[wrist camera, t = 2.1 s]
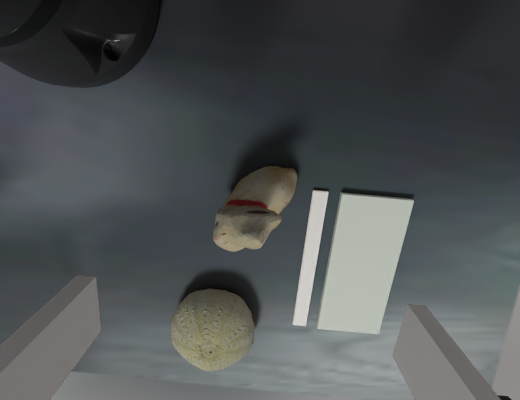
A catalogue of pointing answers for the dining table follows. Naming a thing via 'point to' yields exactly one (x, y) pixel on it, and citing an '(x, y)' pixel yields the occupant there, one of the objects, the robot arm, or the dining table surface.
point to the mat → (362, 261)
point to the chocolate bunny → (254, 208)
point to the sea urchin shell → (212, 329)
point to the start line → (310, 256)
